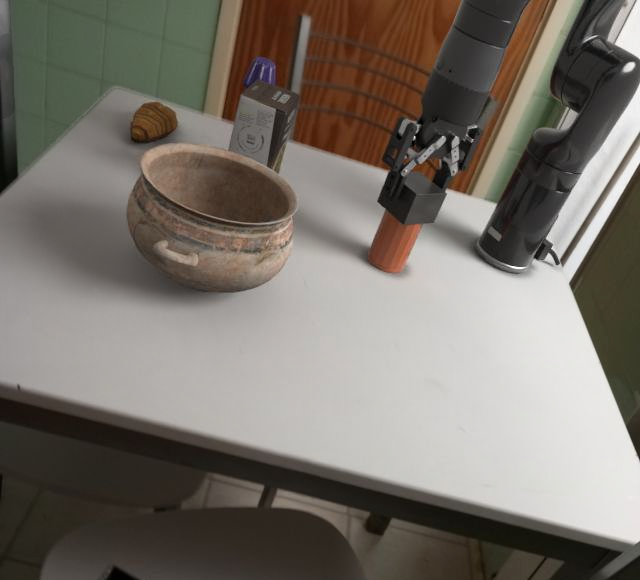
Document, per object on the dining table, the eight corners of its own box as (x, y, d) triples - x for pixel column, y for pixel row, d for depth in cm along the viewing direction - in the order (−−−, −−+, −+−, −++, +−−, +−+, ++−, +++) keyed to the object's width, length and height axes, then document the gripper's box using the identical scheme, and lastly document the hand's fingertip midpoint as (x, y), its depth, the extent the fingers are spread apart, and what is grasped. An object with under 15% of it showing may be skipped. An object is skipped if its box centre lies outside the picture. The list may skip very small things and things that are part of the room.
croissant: (155, 155, 102) (160, 122, 99) (113, 137, 102) (116, 103, 99) (190, 130, 112) (195, 99, 109) (152, 114, 112) (156, 83, 109)
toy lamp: (223, 162, 107) (248, 50, 97) (252, 169, 109) (280, 59, 98) (223, 175, 104) (249, 60, 93) (253, 183, 105) (282, 70, 95)
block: (407, 200, 98) (419, 171, 95) (433, 223, 95) (447, 193, 92) (376, 201, 94) (388, 171, 91) (403, 225, 91) (416, 194, 88)
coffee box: (256, 227, 95) (287, 112, 85) (212, 211, 95) (238, 92, 85) (272, 203, 102) (302, 94, 92) (231, 187, 102) (257, 76, 91)
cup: (387, 250, 103) (407, 201, 98) (410, 271, 100) (432, 222, 95) (359, 252, 99) (379, 202, 94) (382, 274, 97) (404, 224, 92)
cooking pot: (178, 209, 92) (194, 119, 84) (305, 266, 92) (333, 181, 84) (71, 286, 73) (79, 179, 65) (229, 360, 73) (257, 261, 65)
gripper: (443, 84, 77) (391, 214, 87) (520, 93, 85) (464, 211, 96) (402, 56, 80) (357, 184, 91) (480, 67, 89) (430, 183, 99)
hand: (412, 198), depth 93 cm, fingers open, 8 cm apart
